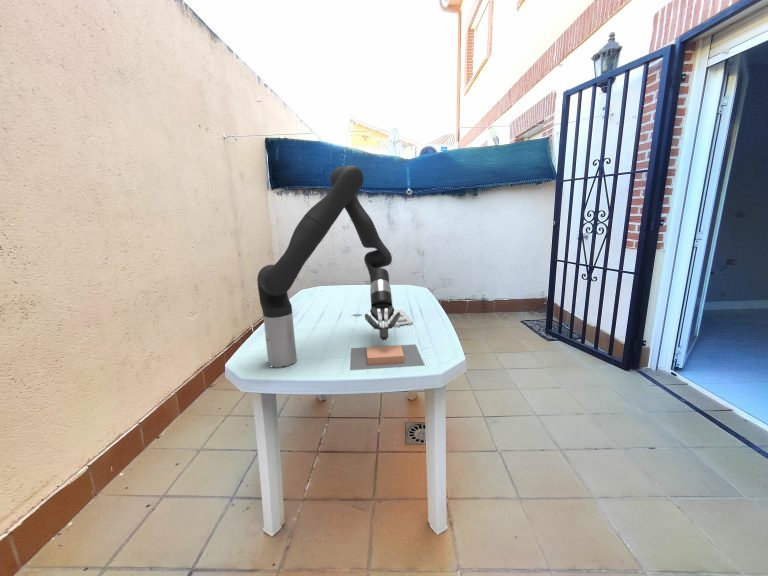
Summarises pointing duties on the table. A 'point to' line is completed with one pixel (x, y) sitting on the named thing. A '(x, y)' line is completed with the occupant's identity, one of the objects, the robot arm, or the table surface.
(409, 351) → the mat
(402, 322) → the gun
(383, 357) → the tile
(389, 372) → the table surface
